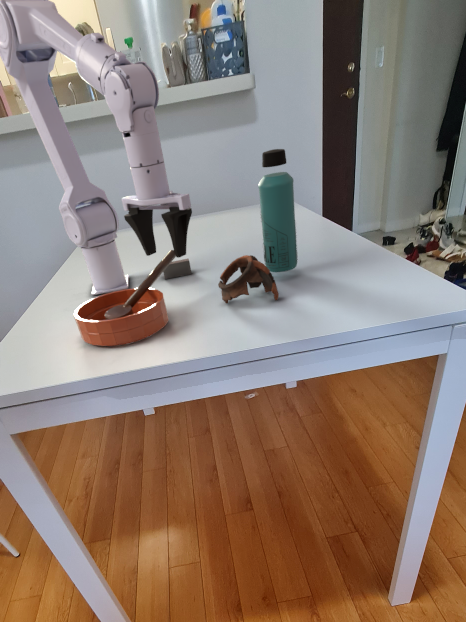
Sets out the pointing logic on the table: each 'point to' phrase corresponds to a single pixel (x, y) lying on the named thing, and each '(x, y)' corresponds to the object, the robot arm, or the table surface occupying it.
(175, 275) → the grey rectangular block
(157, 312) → the bowl
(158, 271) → the ladle
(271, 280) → the broken clay pot
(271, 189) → the beverage bottle
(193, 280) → the table surface
